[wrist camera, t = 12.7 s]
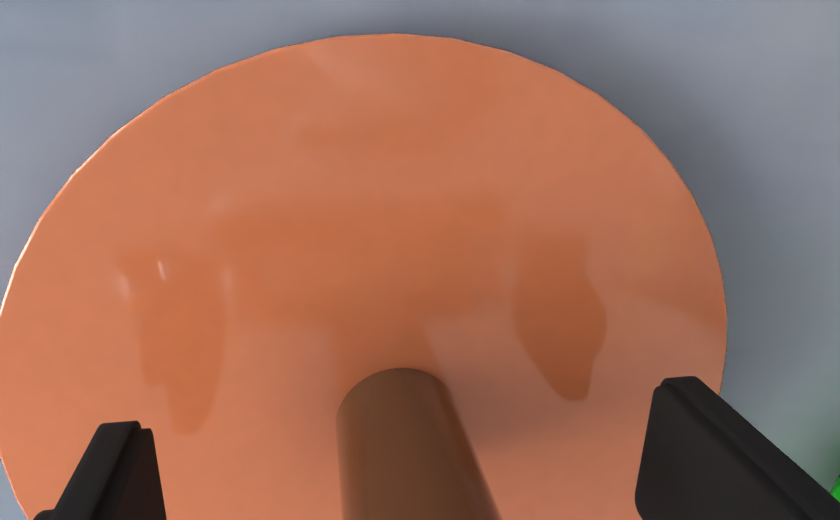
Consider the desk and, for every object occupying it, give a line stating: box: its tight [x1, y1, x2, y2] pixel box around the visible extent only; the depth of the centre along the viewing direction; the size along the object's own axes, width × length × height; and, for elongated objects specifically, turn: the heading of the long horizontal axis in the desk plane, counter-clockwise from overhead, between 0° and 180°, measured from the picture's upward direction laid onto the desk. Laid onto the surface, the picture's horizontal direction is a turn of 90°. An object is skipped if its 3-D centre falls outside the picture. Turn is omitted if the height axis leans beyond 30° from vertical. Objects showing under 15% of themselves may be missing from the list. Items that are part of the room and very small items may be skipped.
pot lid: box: [0, 33, 727, 520], centre depth 11 cm, size 15×15×6 cm
